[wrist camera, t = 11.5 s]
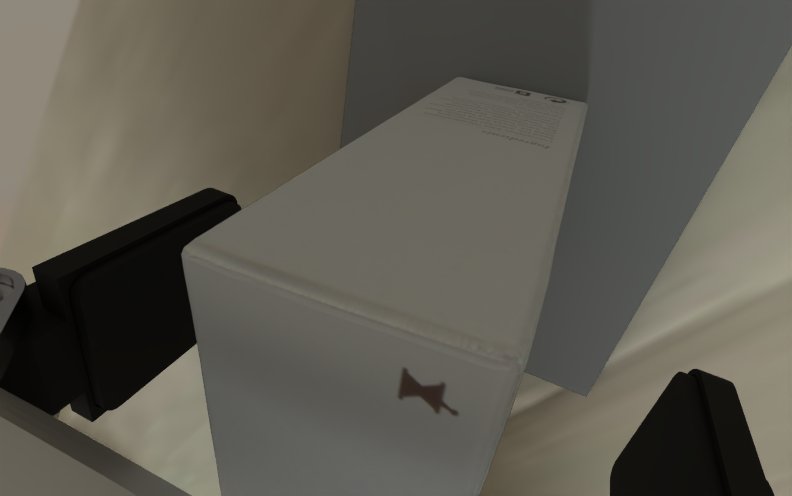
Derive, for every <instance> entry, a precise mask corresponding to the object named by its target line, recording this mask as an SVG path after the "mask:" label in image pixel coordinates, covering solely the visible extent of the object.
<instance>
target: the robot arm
mask: <svg viewBox="0 0 792 496" xmlns="http://www.w3.org/2000/svg"><path fill="white" fill-rule="evenodd" d="M240 210H241V207H240V206H239V205H238V204H237V200H236V198H235V197H234V196H233V195H230V194H227V193H224V192H222V191H219V190H216V189H214V188H207V189H204V190H202V191H200V192H197V193H195V194H193V195H191V196H188V197H186V198H184V199H182V200H180V201H177V202H175V203H173V204H171V205H169V206H166V207H164V208H162V209H160V210H158V211H155V212H153V213H151V214H149V215H146V216H144V217H142V218H140V219H138V220H135V221H133V222H131V223H129V224H127V225H124V226H122V227H120V228H118V229H116V230H113V231H111V232H109V233H107V234H104V235H102V236H100V237H98V238H96V239H93V240H91V241H89V242H87V243H85V244H82V245H80V246H78V247H76V248H74V249H71V250H69V251H67V252H65V253H62V254H60V255H58V256H56V257H54V258H51V259H49V260H47V261H45V262H43V263H40V264H38V265H36V266H34V267H32V269H33V273H34V276H35V280H36V282H34V283H32V284H30V285H28V286H27V285H26V282H25V280H24V278H23V276H22V275H21V274H19V273H17V272H16V271H14V270H10V269H6V268H0V496H191V495H189V494H188V493H186V492H184V491H183V490H181V489H179V488H177V487H176V486H174V485H172V484H170V483H169V482H167V481H165V480H163V479H162V478H160V477H158V476H156V475H155V474H153V473H151V472H149V471H148V470H146V469H144V468H142V467H141V466H139V465H137V464H135V463H134V462H132V461H130V460H128V459H127V458H125V457H123V456H121V455H120V454H118V453H116V452H114V451H113V450H111V449H109V448H107V447H105V446H104V445H102V444H100V443H98V442H97V441H95V440H93V439H91V438H90V437H88V436H86V435H84V434H83V433H81V432H79V431H77V430H76V429H74V428H72V427H70V426H69V425H67V424H65V423H63V422H62V421H60V420H58V417H59V414H60V410H61V409H63V408H64V407H65V406H67V405H68V404H69V403H70V405H71V409H72V411H74V412H76V413H77V414H79V415H81V416H83V417H84V418H86V419H88V420H90V421H91V422H94V421H95V420H96V419H97V418H98V417H100V416H101V415H102V414H103V413H105V412H106V411H107V410H114V409H116V408H118V407H119V406H121V405H122V404H123V403H124V402H126V401H127V400H128V399H129V398H130V397H132V396H133V395H134V394H135V393H137V392H138V391H139V390H140V389H141V388H143V387H144V386H145V385H146V384H148V383H149V382H150V381H151V380H152V379H154V378H155V377H156V376H157V375H159V374H160V373H161V372H162V371H163V370H165V369H166V368H167V367H168V366H170V365H171V364H172V363H173V362H174V361H176V360H177V359H178V358H179V357H181V356H182V355H183V354H184V353H185V352H187V351H188V350H189V349H190V348H192V347H193V346H194V345H195V344H196V343H197V340H196V334H195V328H194V323H193V317H192V311H191V306H190V301H189V296H188V291H187V285H186V280H185V275H184V269H183V262H182V256H181V254H182V251H183V249H184V247H185V246H186V245H188V244H189V243H190V242H191V241H193V240H194V239H195V238H197V237H199V236H200V235H202V234H203V233H205V232H207V231H208V230H210V229H212V228H213V227H215V226H216V225H218V224H220V223H221V222H223V221H224V220H226V219H228V218H229V217H231V216H232V215H234V214H236V213H237V212H239V211H240ZM610 496H774V493H773V491H772V489H771V487H770V485H769V483H768V481H767V480H766V478H765V475H764V472H763V469H762V466H761V463H760V460H759V457H758V454H757V451H756V448H755V445H754V442H753V439H752V436H751V433H750V430H749V427H748V424H747V421H746V418H745V415H744V412H743V409H742V406H741V403H740V400H739V397H738V394H737V391H736V388H735V386H734V384H733V383H732V382H730V381H728V380H725V379H723V378H720V377H717V376H715V375H712V374H709V373H707V372H704V371H701V370H699V369H693V370H691V371H690V372H689V373H688V374H686V373H683V372H678V373H677V374H676V375H675V376H674V377H673V378H672V380H671V381H670V383H669V384H668V386H667V387H666V389H665V390H664V392H663V393H662V394H661V396H660V397H659V399H658V400H657V402H656V403H655V405H654V406H653V408H652V409H651V410H650V412H649V413H648V415H647V416H646V418H645V419H644V421H643V422H642V423H641V425H640V426H639V428H638V429H637V431H636V432H635V434H634V435H633V437H632V438H631V439H630V441H629V442H628V444H627V445H626V447H625V448H624V450H623V451H622V453H621V454H620V455H619V457H618V458H617V460H616V461H615V463H614V466H613V468H612V472H611V476H610Z"/></svg>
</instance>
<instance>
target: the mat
mask: <svg viewBox="0 0 792 496" xmlns="http://www.w3.org/2000/svg"><path fill="white" fill-rule="evenodd" d="M791 46H792V0H356V3H355V12H354V22H353V32H352V41H351V51H350V60H349V70H348V80H347V89H346V99H345V108H344V118H343V128H342V137H341V147H340V149H341V148H343V147H344V146H346V145H348V144H349V143H351V142H353V141H355V140H356V139H358V138H359V137H361V136H363V135H364V134H366V133H367V132H369V131H371V130H372V129H374V128H375V127H377V126H379V125H380V124H382V123H383V122H385V121H387V120H388V119H390V118H392V117H393V116H395V115H397V114H398V113H400V112H401V111H403V110H405V109H406V108H408V107H410V106H412V105H413V104H415V103H416V102H418V101H419V100H421V99H422V98H424V97H426V96H427V95H429V94H431V93H432V92H434V91H436V90H437V89H439V88H441V87H442V86H444V85H446V84H447V83H449V82H450V81H452V80H453V79H455V78H457V77H464V78H468V79H472V80H477V81H481V82H486V83H491V84H496V85H501V86H506V87H511V88H517V89H522V90H527V91H532V92H537V93H542V94H546V95H551V96H555V97H560V98H565V99H570V100H575V101H579V102H584V103H586V104H587V105H588V109H587V113H586V117H585V122H584V126H583V130H582V134H581V139H580V143H579V147H578V151H577V155H576V159H575V163H574V167H573V172H572V176H571V181H570V185H569V190H568V194H567V198H566V202H565V207H564V212H563V216H562V220H561V224H560V229H559V233H558V237H557V242H556V246H555V251H554V256H553V262H552V267H551V272H550V277H549V283H548V287H547V290H546V294H545V298H544V301H543V306H542V310H541V313H540V317H539V320H538V324H537V328H536V332H535V336H534V340H533V343H532V347H531V350H530V354H529V357H528V361H527V364H526V367H525V371H524V372H526V373H529V374H531V375H534V376H536V377H539V378H541V379H544V380H546V381H549V382H551V383H554V384H556V385H558V386H561V387H563V388H566V389H568V390H571V391H573V392H576V393H578V394H581V395H583V396H586V397H587V395H588V393H589V391H590V390H591V388H592V386H593V385H594V383H595V381H596V379H597V378H598V376H599V374H600V373H601V371H602V369H603V367H604V366H605V364H606V362H607V361H608V359H609V357H610V355H611V354H612V352H613V350H614V349H615V347H616V345H617V343H618V342H619V340H620V338H621V337H622V335H623V333H624V331H625V330H626V328H627V326H628V325H629V323H630V321H631V320H632V318H633V316H634V314H635V313H636V311H637V309H638V308H639V306H640V304H641V302H642V301H643V299H644V297H645V296H646V294H647V292H648V290H649V289H650V287H651V285H652V284H653V282H654V280H655V278H656V277H657V275H658V273H659V272H660V270H661V268H662V266H663V265H664V263H665V261H666V260H667V258H668V256H669V254H670V253H671V251H672V249H673V248H674V246H675V244H676V242H677V241H678V239H679V237H680V236H681V234H682V232H683V230H684V229H685V227H686V225H687V224H688V222H689V220H690V219H691V217H692V215H693V213H694V212H695V210H696V208H697V207H698V205H699V203H700V201H701V200H702V198H703V196H704V195H705V193H706V191H707V189H708V188H709V186H710V184H711V183H712V181H713V179H714V177H715V176H716V174H717V172H718V171H719V169H720V167H721V165H722V164H723V162H724V160H725V159H726V157H727V155H728V153H729V152H730V150H731V148H732V147H733V145H734V143H735V141H736V140H737V138H738V136H739V135H740V133H741V131H742V130H743V128H744V126H745V124H746V123H747V121H748V119H749V118H750V116H751V114H752V112H753V111H754V109H755V107H756V106H757V104H758V102H759V100H760V99H761V97H762V95H763V94H764V92H765V90H766V88H767V87H768V85H769V83H770V82H771V80H772V78H773V76H774V75H775V73H776V71H777V70H778V68H779V66H780V64H781V63H782V61H783V59H784V58H785V56H786V54H787V52H788V51H789V49H790V47H791Z"/></svg>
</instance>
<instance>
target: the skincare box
mask: <svg viewBox="0 0 792 496" xmlns="http://www.w3.org/2000/svg"><path fill="white" fill-rule="evenodd" d="M587 109H588V105H587V104H586V103H584V102H579V101H575V100H570V99H565V98H560V97H555V96H551V95H546V94H542V93H537V92H532V91H527V90H522V89H517V88H511V87H506V86H501V85H496V84H491V83H486V82H481V81H477V80H472V79H468V78H464V77H457V78H455V79H453V80H452V81H450V82H449V83H447V84H446V85H444V86H442V87H441V88H439V89H437V90H436V91H434V92H432V93H431V94H429V95H427V96H426V97H424V98H422V99H421V100H419V101H418V102H416V103H415V104H413V105H412V106H410V107H408V108H406V109H405V110H403V111H401V112H400V113H398V114H397V115H395V116H393V117H392V118H390V119H388V120H387V121H385V122H383V123H382V124H380V125H379V126H377V127H375V128H374V129H372V130H371V131H369V132H367V133H366V134H364V135H363V136H361V137H359V138H358V139H356V140H355V141H353V142H351V143H349V144H348V145H346V146H344V147H343V148H341V149H340V150H338V151H336V152H335V153H333V154H331V155H330V156H328V157H327V158H325V159H323V160H322V161H320V162H319V163H317V164H315V165H313V166H312V167H310V168H309V169H307V170H306V171H304V172H303V173H301V174H299V175H298V176H296V177H294V178H292V179H291V180H289V181H288V182H286V183H285V184H283V185H282V186H280V187H278V188H277V189H275V190H274V191H272V192H271V193H269V194H267V195H266V196H264V197H262V198H261V199H259V200H257V201H255V202H254V203H252V204H250V205H249V206H247V207H245V208H244V209H242V210H240V211H239V212H237V213H236V214H234V215H232V216H231V217H229V218H228V219H226V220H224V221H223V222H221V223H220V224H218V225H216V226H215V227H213V228H212V229H210V230H208V231H207V232H205V233H203V234H202V235H200V236H199V237H197V238H195V239H194V240H193V241H191V242H190V243H189V244H188V245H186V246H185V247H184V249H183V251H182V254H181V256H182V262H183V269H184V275H185V280H186V285H187V291H188V296H189V301H190V306H191V311H192V317H193V323H194V328H195V334H196V340H197V346H198V351H199V357H200V363H201V370H202V376H203V383H204V389H205V396H206V402H207V409H208V415H209V422H210V428H211V434H212V440H213V446H214V451H215V457H216V463H217V470H218V477H219V483H220V489H221V495H222V496H479V494H480V492H481V489H482V487H483V485H484V482H485V480H486V477H487V474H488V471H489V468H490V466H491V463H492V460H493V457H494V454H495V452H496V449H497V446H498V444H499V441H500V438H501V436H502V433H503V430H504V428H505V425H506V423H507V420H508V417H509V415H510V412H511V409H512V406H513V403H514V400H515V397H516V394H517V391H518V389H519V386H520V383H521V380H522V377H523V374H524V371H525V367H526V364H527V361H528V357H529V354H530V350H531V347H532V343H533V340H534V336H535V332H536V328H537V324H538V320H539V317H540V313H541V310H542V306H543V301H544V298H545V294H546V290H547V287H548V283H549V277H550V272H551V267H552V262H553V256H554V251H555V246H556V242H557V237H558V233H559V229H560V224H561V220H562V216H563V212H564V207H565V202H566V198H567V194H568V190H569V185H570V181H571V176H572V172H573V167H574V163H575V159H576V155H577V151H578V147H579V143H580V139H581V134H582V130H583V126H584V122H585V117H586V113H587Z"/></svg>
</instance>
